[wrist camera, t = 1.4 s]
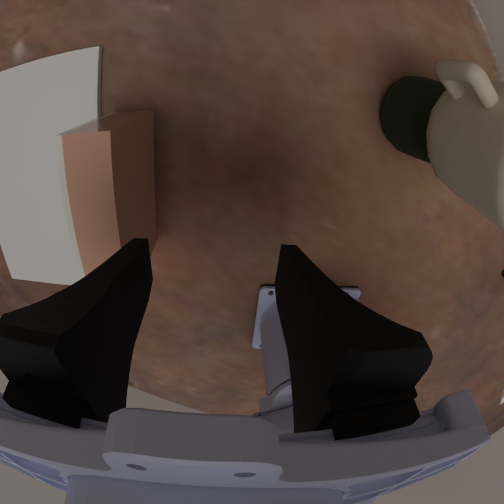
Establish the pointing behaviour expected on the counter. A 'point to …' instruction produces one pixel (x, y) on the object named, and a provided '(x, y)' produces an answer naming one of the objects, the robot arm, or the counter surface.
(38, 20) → the counter surface
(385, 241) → the counter surface
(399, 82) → the character mug
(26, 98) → the board
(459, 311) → the counter surface
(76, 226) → the tile
